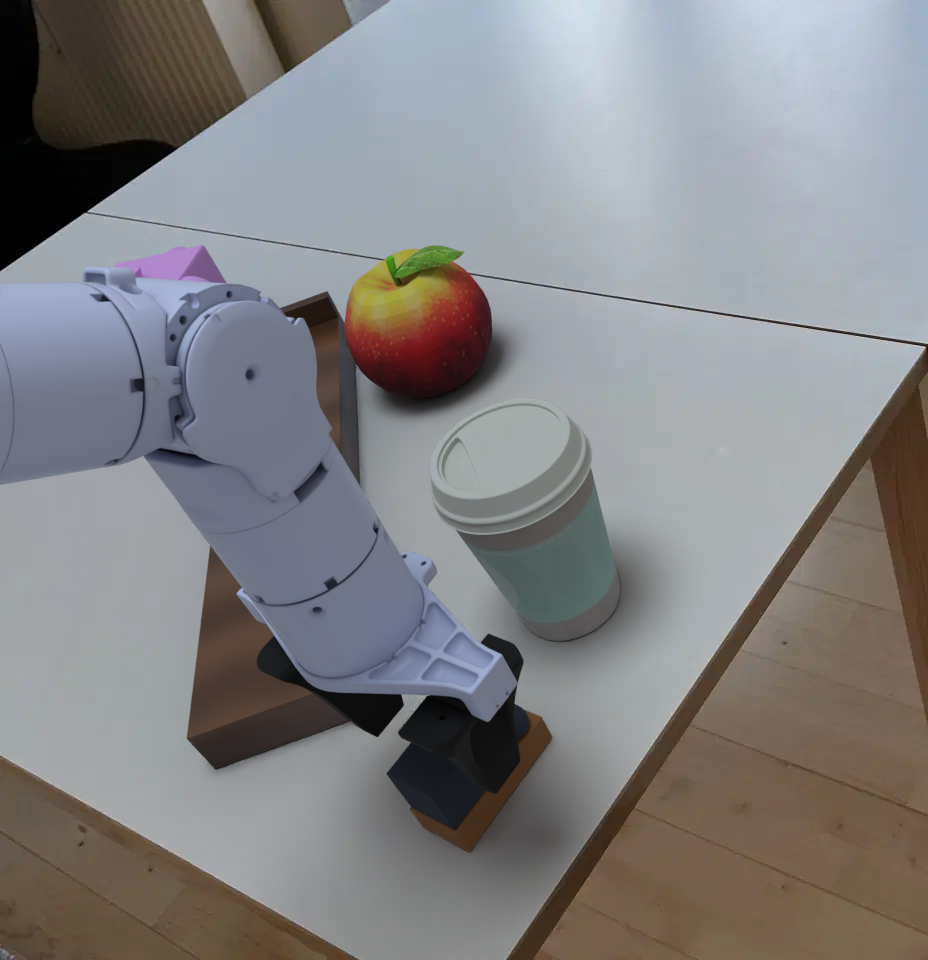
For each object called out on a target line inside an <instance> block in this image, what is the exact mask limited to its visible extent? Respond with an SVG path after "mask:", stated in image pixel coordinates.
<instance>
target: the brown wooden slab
mask: <svg viewBox="0 0 928 960" xmlns="http://www.w3.org/2000/svg"><path fill="white" fill-rule="evenodd" d="M279 308H280V309H281V310H282V311H283V313H284V314H285V316H286V317H292V318H294V319H295V321H296V320H297V319H298V318H303V319H304V320H305V322H306V324H307V326H308V329H309V331H310V334H311V336H312V340H313V343H314V348H315V353H316V361H317V379H316V392H317V399H318V402H319V405H320V408H321V410H322V412H323V413H324V415H325V417H326V418H327V420H328V422H329V423H330V425H331V427H332V430H331V431H330V432H329V435H330V437H331V438H332V440H333V442H334V443H335V445H336V447H337V448H338V450H339V452H340V453H341V455H342V457H343V458H344V460H345V462H346V464H347V465H348V467H349V469H350V470H351V472H352V474H353V475H354V477H355V479H356V480H357V482H358V484H359V485H361V484H360V483H361V482H360V458H359V457H360V456H359V455H360V454H359V432H358V431H359V430H358V405H357V404H358V403H357V382H356V363H355V361H354V359H353V357H352V355H351V353H350V350H349V348H348V346H347V343H346V338H345V330H344V323H345V320H344V319H343V317H342V316H341V313H340V312H339V310H338V308H337V305H336V304H335V301H334V300H333V298H332V296H331V294H330V293H329V291H327V290H326V291H323V292H320V293H318V294H315V295H312V296H309V297H306V298H304V299H301V300H298V301H296V302H293V303H290V304H287V305H285V306H282V307H279ZM207 560H208V561H207V567H206V576H205V584H204V592H203V593H204V594H203V600H202V601H203V602H202V608H201V609H202V610H201V617H200V625H199V633H198V640H197V641H198V642H197V650H196V659H195V666H194V667H195V668H194V674H193V675H194V676H193V683H192V691H191V701H190V708H189V716H188V724H187V733H186V740H187V741H188V742H189V744H191V745H192V746H193V747H194V748H195V750H196V751H197V752H198V753H199V754H200V755H201V756H202V757H203V758H204V759H205V761H207V762H208V764H209V765H210V766H211V767H212V768H213V769H214V770H217V769H219V768H222V767H226V766H228V765H231V764H234V763H236V762H239V761H242V760H245V759H248V758H250V757H254V756H256V755H259V754H260V753H261V754H262V753H264V752H267V751H270V750H273V749H275V748H279V747H281V746H284V745H287V744H290V743H292V742H294V741H297V740H300V739H303V738H306V737H309V736H312V735H315V734H318V733H320V732H322V731H325V730H328V729H331V728H333V727H336V726H339V725H342V724H345V723H347V722H350V721H349V720H348V719H346V718H345V717H344V716H342V715H341V714H340V713H339V712H337V711H336V710H335V709H334V708H332V707H331V706H330V705H328V704H327V703H326V702H324V701H323V700H322V699H320V698H319V697H317V696H316V695H314V694H313V693H311V692H310V691H308V690H307V689H305V688H303V687H301V686H298V685H295V684H291V683H287V682H283V681H281V680H279V679H277V678H275V677H272V676H270V675H268V674H266V673H264V672H262V671H261V670H260V669H259V668H258V666H257V656H258V654H259V652H260V651H261V649H262V648H263V647H264V646H265V645H266V644H267V643H268V642H269V640H270V639H271V638H272V637H273V636H274V634H273V633H272V631H271V630H270V628H269V627H268V626H267V625H266V624H264V623H261V622H259V621H257V620H256V619H255V618H254V616H253V615H252V614H251V613H250V611H249V610H248V609H247V607H246V606H245V605H244V603H243V602H242V601H241V600H240V598H239V597H238V596H237V592H238V591H239V590H240V589H241V588H242V587H241V586H240V584H239V583H238V582H237V580H236V579H235V578H234V576H233V575H232V574H231V572H230V571H229V570H228V568H227V567H226V566H225V564H224V563H223V562H222V561H221V559H220V558H219V557H218V555H217V554H216V553H215V551H214V550H213V549H212V547H211V546H210V545H209V552H208V559H207Z"/></svg>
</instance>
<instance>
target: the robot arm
mask: <svg viewBox="0 0 928 960" xmlns="http://www.w3.org/2000/svg"><path fill="white" fill-rule="evenodd" d="M81 278H82V279H81V280H82V281H69V282H68V281H66V282H65V281H62V282H59V281H58V282H56V281H55V282H11V283H8V282H7V283H0V486H3V485H4V486H5V485H9V484H10V485H11V484H14V483H20V482H26V481H31V480H39V479H43V478H49V477H50V478H51V477H57V476H62V475H67V474H72V473H73V474H74V473H78V472H84V471H91V470H96V469H97V470H98V469H103V468H109V467H115V466H120V465H124V464H125V465H126V464H128V463H130V462H133V461H135V460H138V459H140V458H142V457H143V458H144V459H145V461H146V462H147V464H148V465H149V466H150V467H151V469H152V470H153V471H154V473H155V474H156V475H157V477H158V478H159V479H160V480H161V482H162V483H163V485H164V486H165V487H166V488H167V490H168V491H169V493H171V495H172V496H173V498H174V499H175V501H176V502H177V503H178V505H179V506H180V508H181V509H182V511H183V512H184V513H185V515H186V516H187V517H188V518H189V520H190V521H191V522H192V524H193V525H194V527H195V528H196V529H197V530H198V532H200V535H201V536H202V537H203V538H204V539H205V541H206V542H207V543H208V545H209V547H210V546H211V547H212V549H213V550H214V551H215V553H216V554H217V555H218V557H219V558H220V559H221V561H222V562H223V563H224V564H225V566H226V567H227V568H228V570H229V571H230V572H231V574H232V575H233V576H234V578H235V579H236V580H237V582H238V583H239V584H240V586H241V587H242V588H241V589H240V590H239V591H238V592H237V596H238V597H239V598H240V600H241V601H242V602H243V603H244V605H245V606H246V607H247V609H248V610H249V611H250V613H251V614H252V615H253V616H254V618H255V619H256V620H257V621H259V622H261V623H264V624H266V625H267V626H268V627H269V628H270V630H271V631H272V633H273V634H274V636H273V637H272V638H271V639H270V640H269V642H268V643H267V644H266V645H265V646H264V647H263V648H262V649H261V651H260V652H259V654H258V656H257V666H258V668H259V669H260V670H261V671H262V672H264V673H266V674H268V675H270V676H272V677H275V678H277V679H279V680H281V681H283V682H287V683H291V684H295V685H298V686H301V687H303V688H305V689H307V690H308V691H310V692H311V693H313V694H314V695H316V696H317V697H319V698H320V699H322V700H323V701H324V702H326V703H327V704H328V705H330V706H331V707H332V708H334V709H335V710H336V711H337V712H339V713H340V714H341V715H342V716H344V717H345V718H346V719H348V720H349V721H348V722H350V723H351V724H353V725H354V726H356V727H357V728H358V729H360V730H361V731H363V732H366V733H367V734H370V735H371V736H373V737H375V738H379V737H380V736H381V734H382V733H383V732H384V731H385V730H386V728H387V727H389V724H390V723H391V722H392V721H393V720H394V718H395V717H397V715H398V714H399V713H400V711H401V710H402V709H403V708H404V707H405V703H404V702H405V701H404V698H403V695H408V696H409V695H410V696H411V695H412V696H415V695H416V696H425V698H424V699H423V700H422V702H420V703H419V705H418V706H417V708H416V709H415V710H414V711H413V712H412V714H411V715H410V716H409V717H408V719H407V720H406V721H405V722H404V723H403V725H402V726H401V727H400V729H399V730H398V731H397V734H398V736H399V737H400V739H402V740H404V741H406V742H408V743H409V744H410V743H412V744H414V745H416V746H419V747H421V748H423V749H425V750H427V751H429V752H432V753H434V754H437V755H440V756H443V757H446V758H448V759H449V760H450V761H451V762H452V763H453V764H454V765H455V766H456V767H457V768H458V769H459V770H460V771H461V772H462V773H463V774H464V775H465V776H466V777H467V778H468V779H469V780H470V781H472V782H473V783H474V784H476V785H477V786H479V787H481V788H482V789H484V790H486V791H488V792H490V793H493V794H496V793H498V792H499V790H500V789H501V787H502V786H503V785H504V783H505V782H506V781H507V779H508V778H509V776H510V775H511V774H512V772H513V771H514V769H515V768H516V767H517V765H518V764H519V763H520V761H521V759H520V752H519V746H518V740H517V734H516V727H515V715H514V707H515V704H516V695H517V690H518V684H519V680H520V676H521V673H522V670H523V666H524V658H523V655H522V653H521V651H520V650H519V647H518V646H517V645H516V644H515V643H513V642H511V641H510V640H507V639H504V638H501V637H500V636H499V637H498V636H496V635H493V634H492V633H487V634H486V635H485V636H484V638H483V639H482V640H480V641H479V640H478V639H477V638H476V637H474V635H473V634H472V633H471V632H470V631H468V629H467V628H466V627H465V626H464V625H463V624H462V622H460V620H459V619H458V618H457V617H456V616H455V615H454V614H453V613H452V612H451V611H450V610H449V608H448V607H446V605H445V604H444V603H443V602H442V601H441V600H440V598H438V596H437V595H436V594H435V593H434V592H433V591H432V590H431V589H430V587H429V585H430V583H431V582H432V581H433V580H434V579H435V577H436V575H437V574H438V568H437V566H436V564H435V563H434V561H433V559H432V558H430V557H429V556H427V555H424V554H420V553H418V552H415V551H412V550H405V551H401V552H400V551H399V550H398V547H397V546H396V545H395V543H394V541H393V538H391V536H390V535H389V533H388V531H387V529H386V527H385V526H384V524H383V523H382V521H381V519H380V518H379V516H378V514H377V513H376V510H375V508H374V507H373V505H372V503H371V502H370V500H369V498H368V497H367V495H366V494H365V492H364V489H362V487H361V486H360V485H361V484H360V485H359V484H358V482H357V480H356V479H355V477H354V475H353V474H352V472H351V470H350V469H349V467H348V465H347V464H346V462H345V460H344V458H343V457H342V455H341V453H340V452H339V450H338V448H337V447H336V445H335V443H334V442H333V440H332V438H331V437H330V435H329V432H330V431H331V430H332V427H331V425H330V423H329V422H328V420H327V418H326V417H325V415H324V413H323V412H322V410H321V408H320V405H319V402H318V399H317V392H316V379H317V361H316V353H315V348H314V343H313V340H312V336H311V334H310V331H309V329H308V326H307V324H306V322H305V320H304V319H303V318H298V319H297V320H296V321H295V319H294V318H292V317H286V316H285V314H284V313H283V311H282V310H281V309H280V308H281V307H280V306H279V305H278V304H276V302H275V301H274V300H273V299H272V298H271V297H268V296H260V295H261V290H258V289H256V288H254V287H252V286H249V285H248V286H247V285H245V284H241V283H229V282H226V283H214V282H199V281H184V280H170V279H157V278H136V276H135V274H134V272H133V271H132V270H131V269H129V268H121V267H114V266H86V267H85V268H83V270H82V273H81Z"/></svg>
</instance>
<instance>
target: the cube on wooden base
mask: <svg viewBox="0 0 928 960" xmlns="http://www.w3.org/2000/svg"><path fill="white" fill-rule="evenodd" d="M514 715H515V727H516V734H517V740H518V746H519V752H520V759H521V761H520V763H519V764H518V765H517V767H516V768H515V769H514V771H513V772H512V774H511V775H510V776H509V778H508V779H507V781H506V782H505V783H504V785H503V786H502V787H501V789H500V790H499V792H498V793H496V794H493V793H490V792H488V791H486V790H484V789H482V788H481V787H479V786H477V785H476V784H474V783H473V782H472V781H470V780H469V779H468V778H467V777H466V776H465V775H464V774H463V773H462V772H461V771H460V770H459V769H458V768H457V767H456V766H455V765H454V764H453V763H452V762H451V761H450V760H449V759H448V758H446V757H443V756H440V755H437V754H434V753H432V752H429V751H427V750H425V749H423V748H421V747H419V746H416V745H414V744H412V743H410V742H409V745H407V747H406V748H405V749H404V750H403V752H402V753H401V754H400V755H399V757H398V758H397V759H396V760H395V762H394V763H393V764H392V766H391V767H390V768H389V769H388V771H387V772H386V774H385V775H386V776H387V777H388V779H389V780H390V781H391V782H392V784H393V785H394V787H395V788H396V789H397V791H398V792H399V794H400V795H401V796H402V797H403V798H404V800H405V801H406V802H407V804H408V805H409V808H408V809H409V811H410V812H411V814H412V815H413V817H414V818H415V819H416V820H417V822H418V823H419V824H420V826H421V827H422V828H423V829H424V830H427V831H428V832H430V833H432V834H434V835H436V836H438V837H440V838H442V839H444V840H445V841H447V842H449V843H451V844H453V845H454V846H456V847H459V848H460V849H461V850H464V851H466V852H467V853H470V852H471V851H472V850H473V848H474V847H475V845H476V844H477V843H478V841H479V840H480V839H481V838H482V836H483V835H484V833H486V830H487V829H488V827H489V826H490V825H491V823H492V822H493V820H494V819H495V818H496V816H497V815H498V813H500V811H501V809H502V808H503V807H504V805H505V803H506V802H507V801H508V800H509V798H510V797H511V795H512V794H513V792H514V791H515V790H516V789H517V787H519V784H520V783H521V782H522V780H523V779H524V777H526V775H527V773H528V772H529V771H530V769H531V768H532V766H533V765H534V764H535V762H536V761H537V759H538V758H539V756H540V755H541V754H542V752H543V751H544V750H545V748H546V747H547V745H549V742H550V741H551V740H552V738H553V735H552V733H551V731H550V729H549V727H548V726H547V724H546V722H545V721H544V718H543V717H542V716H540V715H538V714H536V713H534V712H531V711H529V710H526V709H525V708H523V707H522V706H521V705H518V704H517V703H515V707H514Z"/></svg>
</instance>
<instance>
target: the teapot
mask: <svg viewBox="0 0 928 960" xmlns="http://www.w3.org/2000/svg"><path fill="white" fill-rule="evenodd" d="M113 267H121V268H129V269H131V270H132V271H133V272H134V274H135V276H136V278H157V279H170V280H184V281H199V282H214V283H227V281H226V279H225V277H224V276H223V275H222V273H221V271H220V269H219V268H218V266H217V264H216V262H215V261H214V259H213V258H212V256H211V254H210V253H209V251H208V249H207V247H206V246H205V245H203V244H200V245H195V246H192V247H185V246H176V247H173V248H170V249H169V250H168V251H166V252H163V253H158V254H153V255H149V256H144V257H140V258H135V259H132V260H127V261H121V262H117V263H115V265H114V266H113Z"/></svg>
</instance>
